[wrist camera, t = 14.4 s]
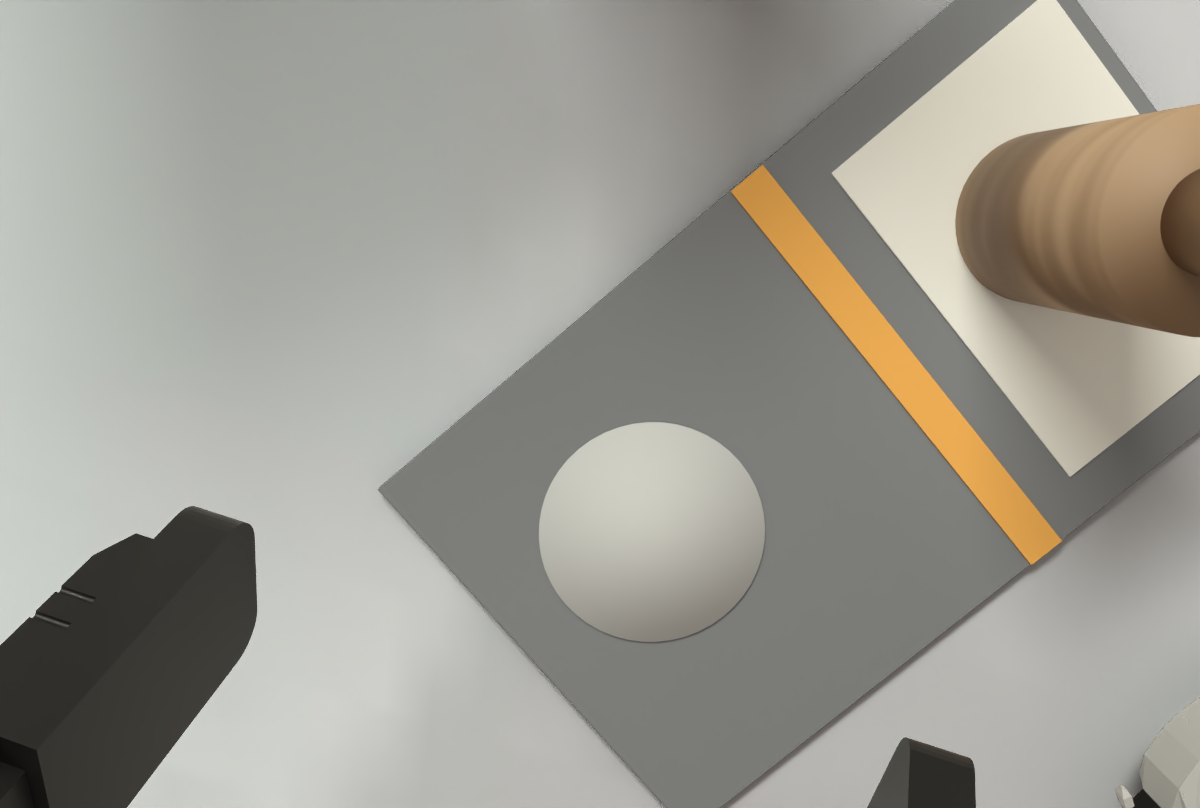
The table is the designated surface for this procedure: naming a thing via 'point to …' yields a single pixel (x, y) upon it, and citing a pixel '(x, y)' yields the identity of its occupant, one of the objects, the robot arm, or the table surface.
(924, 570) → the lane mat
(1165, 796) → the robot toy
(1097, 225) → the walnut skittle
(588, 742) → the table surface
